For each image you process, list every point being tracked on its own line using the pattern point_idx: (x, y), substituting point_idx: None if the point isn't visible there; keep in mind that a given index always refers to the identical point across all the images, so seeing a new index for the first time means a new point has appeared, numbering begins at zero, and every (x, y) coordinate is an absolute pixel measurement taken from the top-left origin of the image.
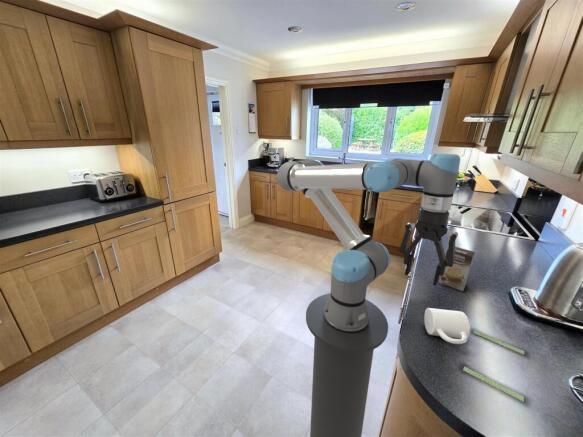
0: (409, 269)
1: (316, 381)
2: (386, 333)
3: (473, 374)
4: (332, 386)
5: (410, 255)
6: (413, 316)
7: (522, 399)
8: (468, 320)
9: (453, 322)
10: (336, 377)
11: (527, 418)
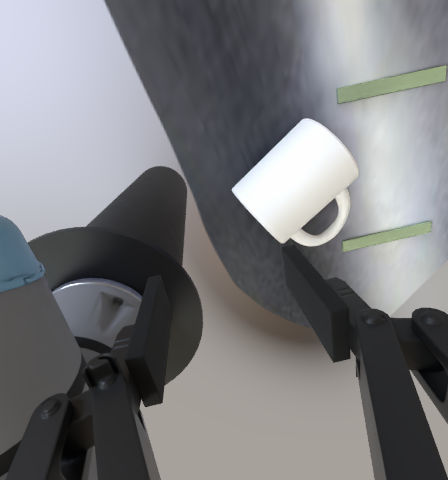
0: (163, 305)
1: None
2: (194, 292)
3: (359, 246)
4: None
5: (140, 378)
6: (197, 180)
7: (429, 230)
8: (357, 167)
9: (323, 206)
10: None
11: (431, 257)
